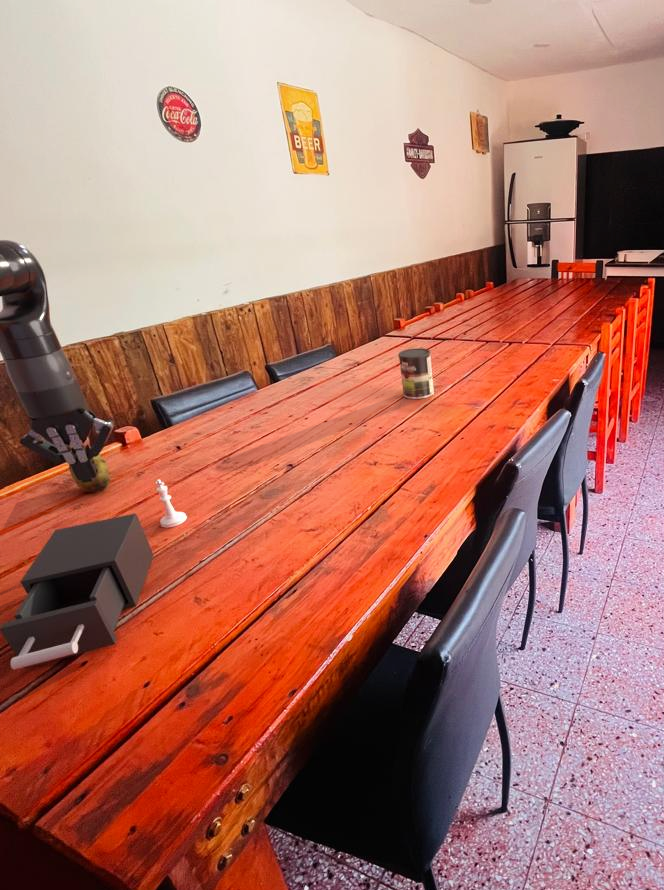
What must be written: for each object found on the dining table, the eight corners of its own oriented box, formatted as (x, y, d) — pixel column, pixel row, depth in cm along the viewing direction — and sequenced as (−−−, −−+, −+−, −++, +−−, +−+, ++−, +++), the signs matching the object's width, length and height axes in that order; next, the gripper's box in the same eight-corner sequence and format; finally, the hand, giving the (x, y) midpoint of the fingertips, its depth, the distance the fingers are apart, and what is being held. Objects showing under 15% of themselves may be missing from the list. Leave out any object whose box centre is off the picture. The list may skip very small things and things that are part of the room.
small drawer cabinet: (136, 605, 85) (115, 560, 81) (47, 628, 81) (19, 581, 77) (153, 555, 97) (136, 513, 93) (77, 572, 94) (55, 529, 89)
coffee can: (420, 401, 163) (415, 358, 157) (397, 396, 169) (391, 354, 163) (440, 391, 171) (436, 350, 165) (417, 386, 176) (412, 346, 170)
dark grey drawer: (105, 671, 72) (83, 630, 68) (8, 698, 69) (-20, 657, 65) (135, 587, 88) (119, 551, 84) (58, 606, 85) (37, 569, 81)
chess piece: (172, 513, 110) (157, 473, 106) (192, 515, 109) (177, 474, 105) (155, 526, 106) (138, 485, 102) (175, 528, 105) (159, 486, 101)
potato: (70, 502, 117) (56, 472, 113) (79, 479, 127) (66, 450, 124) (113, 492, 120) (100, 462, 117) (118, 470, 131) (106, 442, 127)
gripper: (103, 368, 83) (139, 462, 91) (5, 381, 79) (52, 477, 87) (87, 382, 76) (128, 482, 84) (-19, 396, 73) (34, 499, 81)
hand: (89, 479), depth 86 cm, fingers closed
